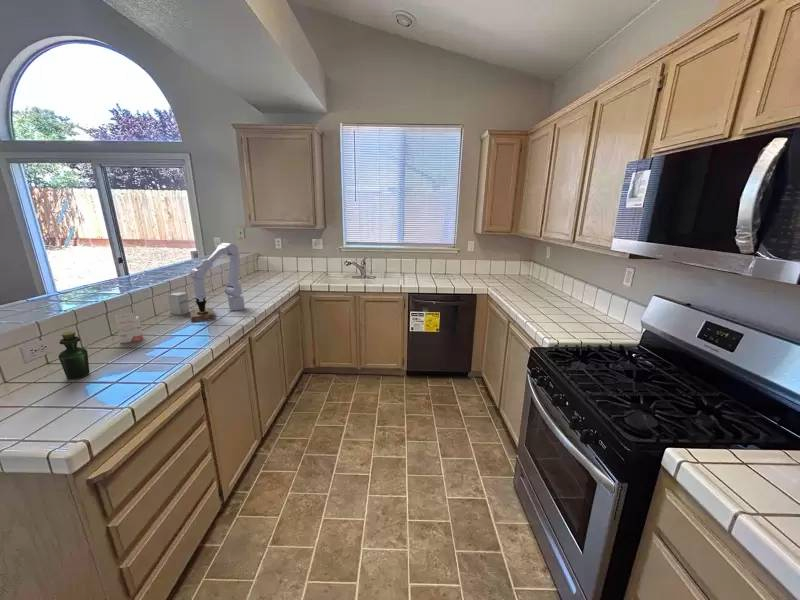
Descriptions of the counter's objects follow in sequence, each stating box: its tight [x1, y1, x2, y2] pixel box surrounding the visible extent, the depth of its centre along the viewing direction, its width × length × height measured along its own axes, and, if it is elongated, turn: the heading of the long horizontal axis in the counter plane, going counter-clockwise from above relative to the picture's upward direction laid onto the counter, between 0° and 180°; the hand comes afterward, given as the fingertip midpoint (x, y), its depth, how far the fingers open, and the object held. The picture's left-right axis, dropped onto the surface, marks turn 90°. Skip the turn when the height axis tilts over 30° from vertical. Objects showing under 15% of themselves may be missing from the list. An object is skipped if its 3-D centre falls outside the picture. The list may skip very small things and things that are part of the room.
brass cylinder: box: [197, 304, 207, 315], centre depth 202 cm, size 4×4×8 cm
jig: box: [190, 307, 216, 322], centre depth 204 cm, size 12×16×3 cm
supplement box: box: [167, 291, 190, 315], centre depth 209 cm, size 7×7×13 cm
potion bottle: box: [58, 331, 90, 380], centre depth 129 cm, size 8×8×18 cm
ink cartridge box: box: [114, 312, 144, 344], centre depth 164 cm, size 9×5×15 cm, turn 118°
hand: (202, 310), depth 202 cm, fingers open, 7 cm apart
